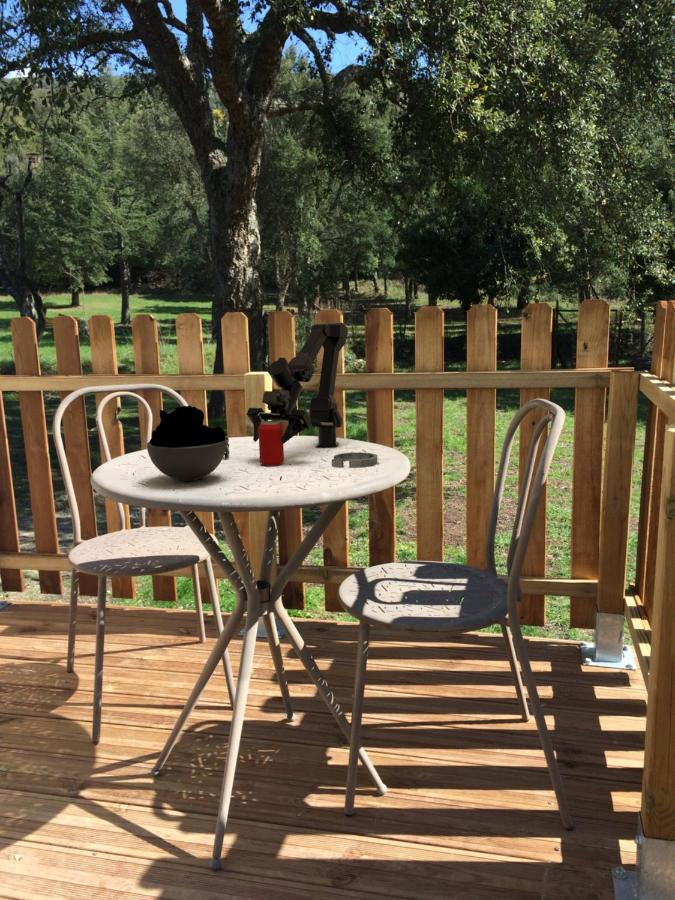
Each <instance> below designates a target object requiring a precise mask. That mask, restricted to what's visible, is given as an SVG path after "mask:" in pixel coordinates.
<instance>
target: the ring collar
mask: <svg viewBox="0 0 675 900" xmlns="http://www.w3.org/2000/svg"><path fill="white" fill-rule="evenodd" d="M347 461H348V465H349V466H348V467H349V468H366V467H367V468H368V467H372V466H376V465H378V454H376V453H372V452H364V451H363V452H362V451H358V452H357V451H355V452H344V453H343V452H342V453H341V452H340V453H338V454H335V455H334V456H333V458H331V467H334V468H341V469H342V468H344V465H345V464H344V462H347Z"/></svg>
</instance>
